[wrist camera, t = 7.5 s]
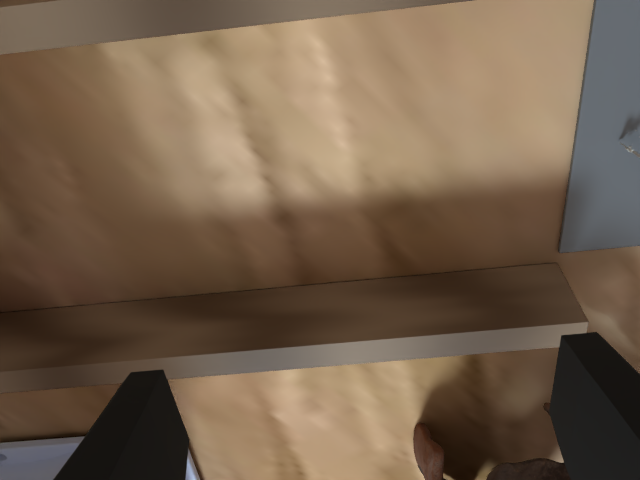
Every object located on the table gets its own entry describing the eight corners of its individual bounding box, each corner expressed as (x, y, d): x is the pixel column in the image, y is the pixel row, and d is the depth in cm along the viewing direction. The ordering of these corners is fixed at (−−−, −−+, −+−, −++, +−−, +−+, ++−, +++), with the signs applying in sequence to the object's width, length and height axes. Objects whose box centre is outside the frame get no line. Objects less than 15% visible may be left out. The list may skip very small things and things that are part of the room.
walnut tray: (-18, 335, 23) (-57, 397, 21) (-211, 7, 16) (-304, 43, 14) (554, 284, 22) (584, 345, 19) (607, -93, 15) (665, -73, 13)
